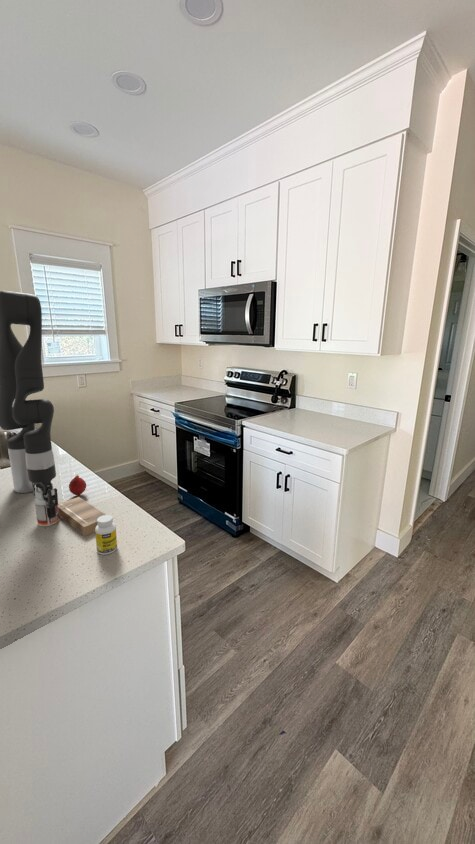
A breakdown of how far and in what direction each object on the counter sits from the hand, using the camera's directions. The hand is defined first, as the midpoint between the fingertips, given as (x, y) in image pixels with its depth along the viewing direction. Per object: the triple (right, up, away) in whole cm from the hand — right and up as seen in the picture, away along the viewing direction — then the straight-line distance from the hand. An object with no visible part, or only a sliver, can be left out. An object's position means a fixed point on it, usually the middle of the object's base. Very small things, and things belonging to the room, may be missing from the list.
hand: (47, 513), depth 111 cm
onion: (+1, +2, +19) cm, 19 cm away
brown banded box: (+10, -3, +3) cm, 10 cm away
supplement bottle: (+24, -7, -12) cm, 28 cm away
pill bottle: (0, -3, +1) cm, 3 cm away
